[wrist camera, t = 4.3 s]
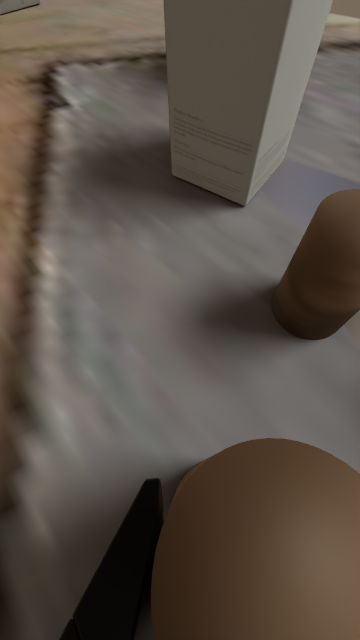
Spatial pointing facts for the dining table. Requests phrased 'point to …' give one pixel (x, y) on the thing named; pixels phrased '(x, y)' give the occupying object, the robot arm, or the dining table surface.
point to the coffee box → (15, 5)
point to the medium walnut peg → (323, 271)
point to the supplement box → (237, 86)
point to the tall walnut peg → (261, 548)
